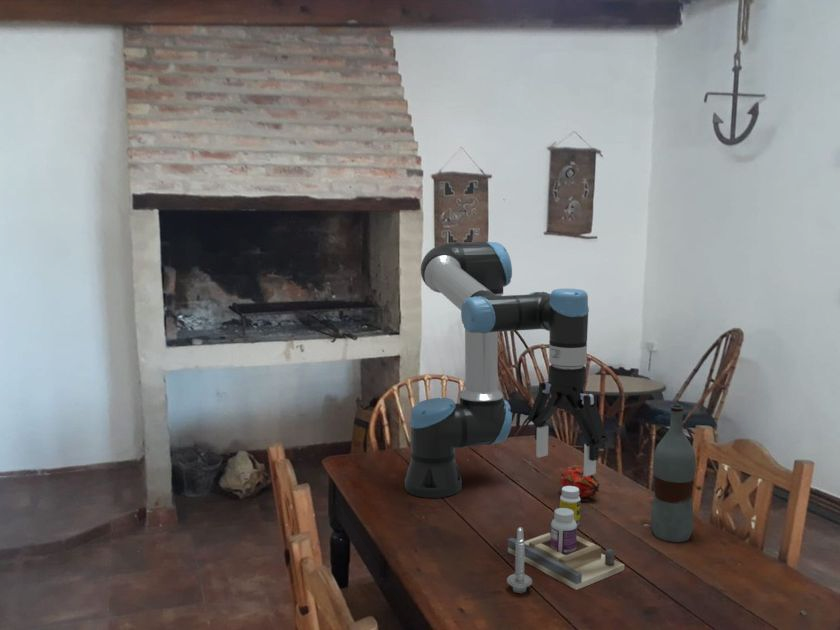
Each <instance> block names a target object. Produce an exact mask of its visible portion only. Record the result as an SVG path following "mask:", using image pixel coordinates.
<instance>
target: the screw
mask: <svg viewBox="0 0 840 630" xmlns="http://www.w3.org/2000/svg"><path fill="white" fill-rule="evenodd" d="M524 533H525V532H524V528H523V527H522V526H520V527H518V528H517V529H516V538H515V539H516V542H515V544H516V545H515V547H516V548H515V550H516V551H515V552H516V554H515V555H516V556H514V559H515V560H514V561H515V562H514V567H515V568H514V570H515V571H514V573H512V574H509V576H508V577H507V578H506V582H507V584H508V585H509V586H511V587H512V591H513V593H516V594H517V593H518V594H523V593H526V592H527V588H528V587H530V586H531V585H533V579H532V578H531V577H530V576H529V575H527V574H525V563H526V562H525V561H524V560H525V559H524V557H525V556H524V555H525V553H524V552H525V550H524V549H525V547H524V546H525V544H524V543H525V541H526V540H525V538H524V536H525V535H524Z"/></svg>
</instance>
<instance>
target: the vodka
mask: <svg viewBox="0 0 840 630" xmlns="http://www.w3.org/2000/svg"><path fill="white" fill-rule="evenodd" d="M683 411H684V406H682V405H680V404H671V405H670V420H669V421H670V423H669V424H670V425H669V429H668V431H667V432H666V433H665V434H664V436H663V437H662V438H661V440H660V441H659V443H657V445H656V446H655V450H654V455H653V456H654V457H653V462H652V463H653V464H652V465H653V481H654V497H653V501H652V508H651V513H650V518H651V529H652V533H653V535H654V536H655V537H656V538H658V539H659V540H662V539H663V541H665V542H669V543H670V542H671V543H683V542H684V543H685V542H686V541H689V539H690V538H691V537H692V536H691V535H692V532H693V526H694V521H695V520H694V510H693V491H694V486H695V485H694V484H695V477H696V470H697V461H696V460H697V459H696V453H695V450H694V447H693V445H692V444H691V442H690V441H689V439H688V437H687V435H686V434H685V433H684V431H683V417H684V416H683V415H684V413H683Z"/></svg>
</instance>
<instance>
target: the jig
mask: <svg viewBox="0 0 840 630" xmlns="http://www.w3.org/2000/svg"><path fill="white" fill-rule="evenodd" d="M516 539H517V538H514V537H510V538H508V539H507V553H509V554H510V555H512V556H514V557H516V555H515V554H516V552H515V551H516V550H515V548H516V547H515V545H516V544H515V542H516ZM524 541H525V543H524V544H525V546H524V547H525V549H524V550H525V552H524V553H525V555H524V556H525V557H524V559H525V560H524V562H525V563H527V564H529V565H530V566H532V567H534V568H536V569H537V570H539V571H541V572H542V573H545V574H546V575H548V576H550V577H551V578H554V579H556V580H557V581H559V582H561V583H563V584H564V585H566V586H568V587H569V588H572V589H573V590H576V591H578V590H581V589H582V588H585V587H587V586H589V585H592V584H594V583H597V582H599V581H602V580H604V579H607V578H609V577H611V576H613V575H617V574H618V573H621V572H623V571H625V564H624V563H622V562H620V561H618V560H616V559H615V550H614V549H612V548H607V549H605V552H604V553H605V554H603V553H602V549H603V548H602V547H601V546H599V545H597V544H595V543H593V542H591V541H589V540H587V539H585V538H582V537H580V536H578V535H577V549H576V552H573V553H571V554H568V555H563V554H561V553H559V552H557V551H556V550H554V549H552V548H551V523H550V524H549V532H547V533H544V534H541V535H538V536H536V537H533V538H530V539H527V540H524Z"/></svg>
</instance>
